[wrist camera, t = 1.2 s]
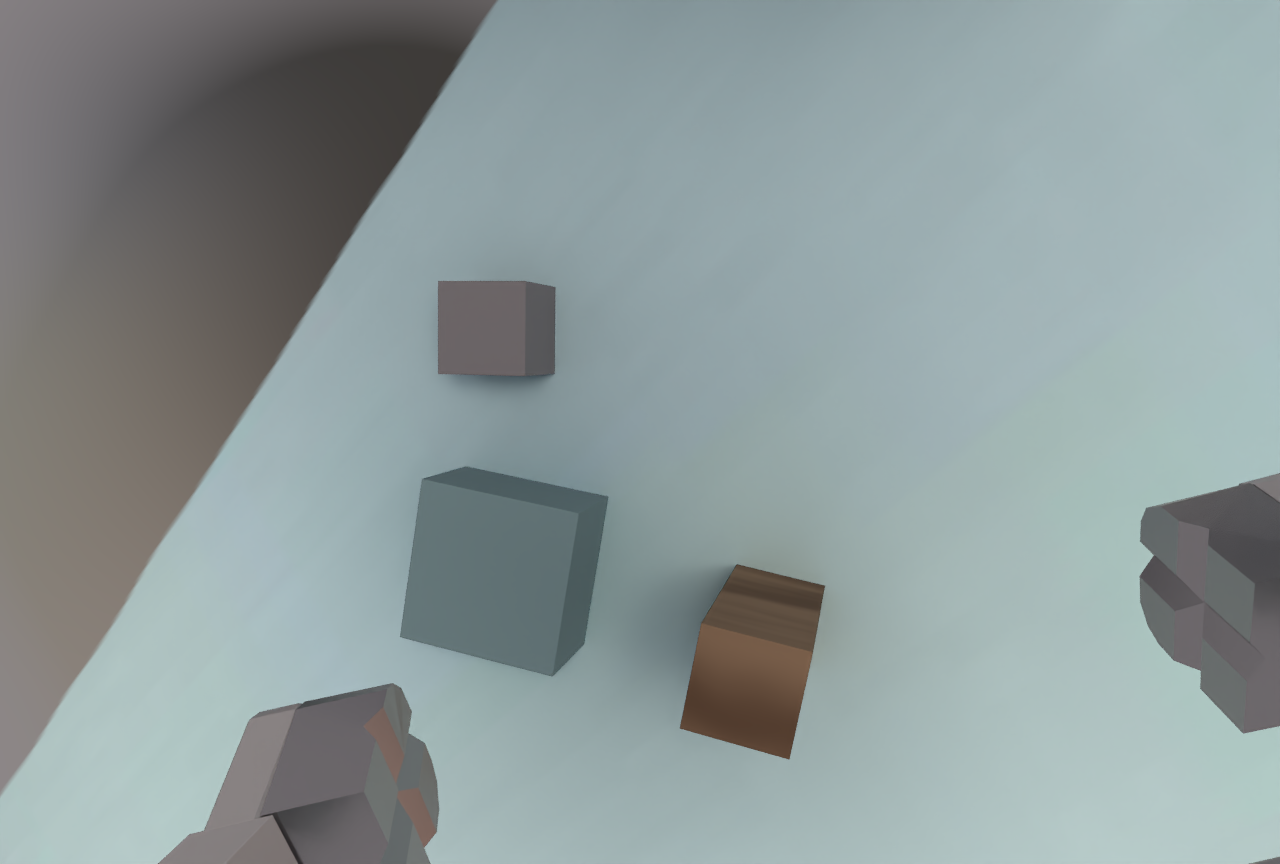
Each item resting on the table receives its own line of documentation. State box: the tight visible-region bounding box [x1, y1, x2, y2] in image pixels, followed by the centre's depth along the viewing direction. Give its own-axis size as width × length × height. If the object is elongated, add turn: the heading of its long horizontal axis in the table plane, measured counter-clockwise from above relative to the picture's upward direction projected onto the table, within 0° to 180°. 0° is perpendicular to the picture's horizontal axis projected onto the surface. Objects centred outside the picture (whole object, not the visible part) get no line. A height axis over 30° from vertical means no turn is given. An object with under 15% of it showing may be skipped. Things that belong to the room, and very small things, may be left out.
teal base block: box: [400, 467, 608, 676], centre depth 54 cm, size 9×9×6 cm
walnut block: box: [680, 565, 825, 759], centre depth 48 cm, size 5×5×12 cm
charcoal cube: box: [438, 281, 555, 376], centre depth 54 cm, size 5×5×5 cm
